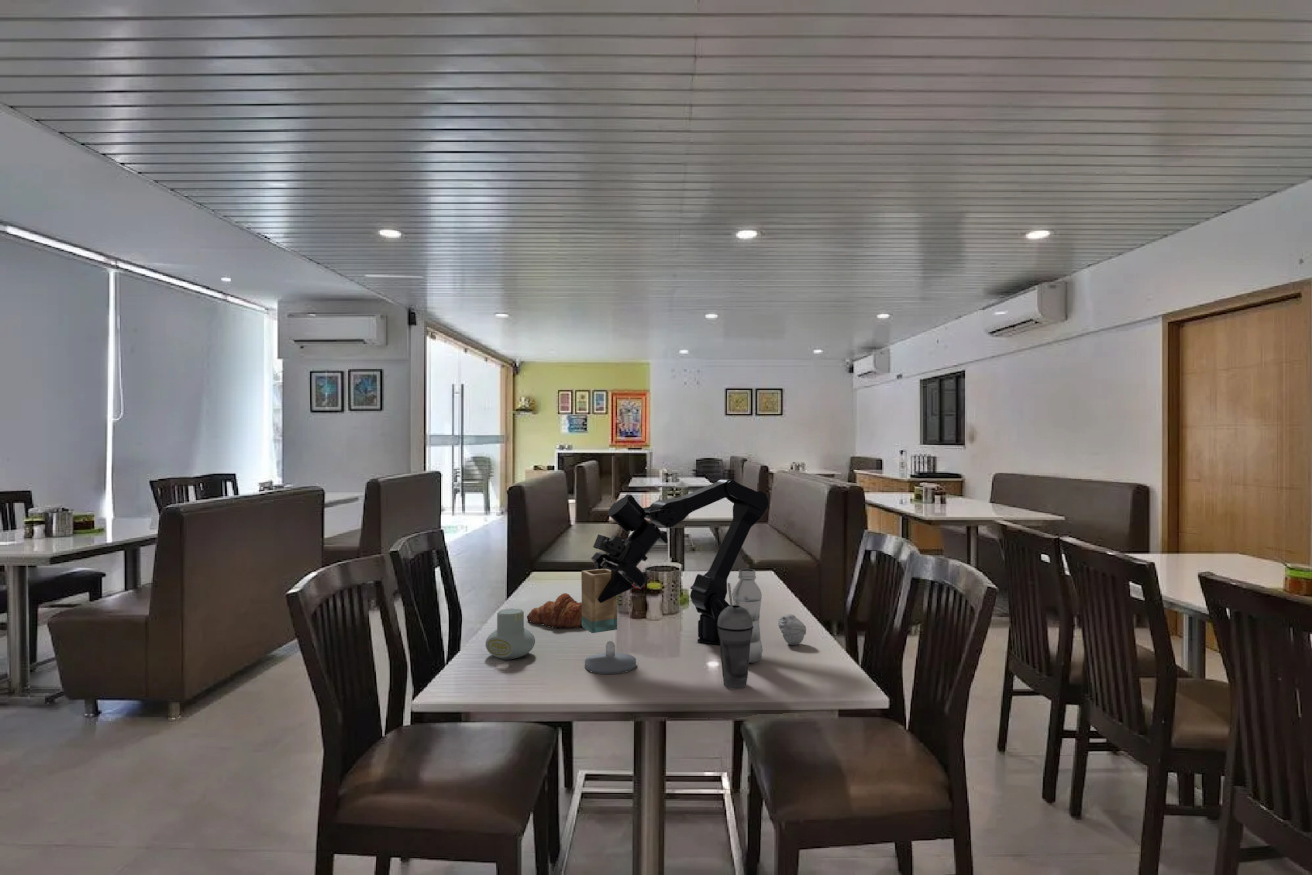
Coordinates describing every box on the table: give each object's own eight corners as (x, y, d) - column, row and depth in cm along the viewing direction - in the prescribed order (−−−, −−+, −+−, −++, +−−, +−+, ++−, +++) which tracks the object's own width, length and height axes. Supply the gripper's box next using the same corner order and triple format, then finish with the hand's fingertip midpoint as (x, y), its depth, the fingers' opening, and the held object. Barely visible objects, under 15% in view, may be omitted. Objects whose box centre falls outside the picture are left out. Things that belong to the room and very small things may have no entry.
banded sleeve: (606, 623, 153) (605, 568, 153) (617, 629, 148) (616, 572, 148) (581, 626, 150) (581, 570, 150) (591, 633, 145) (591, 575, 145)
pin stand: (644, 661, 147) (644, 637, 147) (621, 677, 137) (621, 651, 137) (600, 655, 151) (600, 632, 152) (575, 669, 141) (575, 645, 142)
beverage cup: (752, 692, 128) (752, 587, 129) (714, 689, 130) (714, 586, 130) (754, 679, 135) (754, 580, 136) (718, 677, 137) (718, 579, 137)
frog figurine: (787, 638, 165) (787, 610, 165) (812, 644, 160) (812, 615, 160) (772, 643, 160) (772, 614, 160) (797, 650, 155) (797, 619, 155)
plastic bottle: (744, 668, 143) (743, 573, 143) (726, 659, 149) (726, 568, 149) (768, 663, 146) (768, 571, 146) (750, 655, 152) (750, 566, 152)
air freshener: (541, 653, 153) (541, 609, 153) (519, 664, 145) (519, 617, 146) (502, 647, 157) (502, 605, 158) (479, 657, 150) (479, 612, 150)
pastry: (583, 614, 190) (583, 585, 190) (606, 626, 177) (606, 596, 177) (526, 621, 182) (526, 592, 182) (546, 635, 169) (546, 603, 169)
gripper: (599, 517, 159) (554, 568, 154) (633, 525, 143) (584, 582, 138) (629, 548, 163) (586, 599, 158) (665, 559, 146) (619, 616, 141)
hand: (593, 598), depth 149 cm, fingers closed on banded sleeve, 6 cm apart
